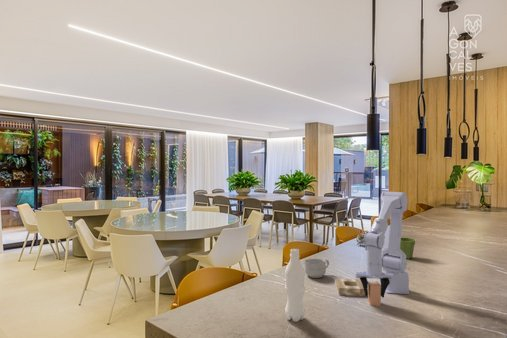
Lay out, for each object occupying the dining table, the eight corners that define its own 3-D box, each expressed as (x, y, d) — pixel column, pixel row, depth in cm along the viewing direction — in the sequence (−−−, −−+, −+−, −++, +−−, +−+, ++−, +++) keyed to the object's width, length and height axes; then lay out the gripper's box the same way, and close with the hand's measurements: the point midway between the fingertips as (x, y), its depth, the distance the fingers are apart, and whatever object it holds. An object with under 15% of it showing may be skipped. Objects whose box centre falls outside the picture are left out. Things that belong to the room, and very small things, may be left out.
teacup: (309, 280, 155) (309, 264, 155) (300, 273, 165) (300, 258, 165) (335, 278, 159) (335, 262, 159) (325, 271, 169) (325, 256, 169)
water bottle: (302, 313, 119) (302, 247, 119) (306, 323, 112) (306, 252, 112) (283, 314, 119) (283, 247, 119) (286, 323, 112) (286, 252, 112)
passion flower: (360, 253, 224) (350, 238, 229) (368, 248, 231) (359, 234, 235) (370, 247, 216) (360, 232, 221) (379, 242, 223) (369, 227, 227)
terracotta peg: (378, 301, 130) (377, 281, 131) (380, 305, 127) (380, 285, 127) (367, 301, 131) (367, 281, 131) (370, 305, 127) (370, 285, 127)
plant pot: (411, 255, 200) (411, 237, 200) (419, 260, 188) (419, 241, 188) (392, 254, 201) (392, 236, 201) (398, 260, 190) (398, 241, 190)
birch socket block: (361, 285, 148) (361, 279, 148) (367, 296, 136) (367, 289, 136) (335, 284, 149) (335, 278, 149) (338, 294, 137) (338, 287, 137)
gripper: (357, 265, 126) (357, 299, 126) (396, 266, 124) (396, 301, 124) (354, 259, 133) (354, 292, 133) (390, 261, 131) (390, 294, 131)
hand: (374, 296), depth 129 cm, fingers open, 6 cm apart
